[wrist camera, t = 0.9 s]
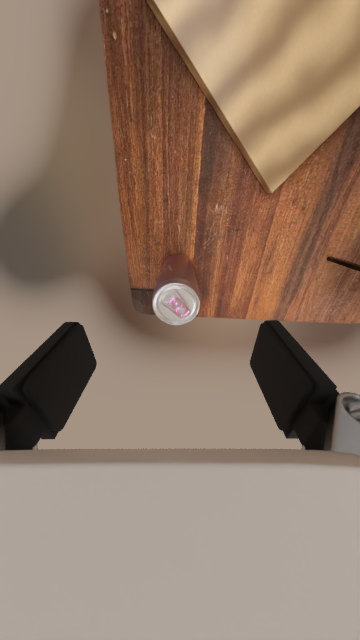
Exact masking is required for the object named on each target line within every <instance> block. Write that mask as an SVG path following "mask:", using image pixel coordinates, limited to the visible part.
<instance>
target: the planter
mask: <svg viewBox="0 0 360 640" xmlns="http://www.w3.org/2000/svg"><path fill="white" fill-rule="evenodd" d="M327 260H328V261H331V262H334V263H337V264H340V265H343V266H345V267H348V268H351V269H354V270H357V271H360V265H357V264H354V263H351V262H348V261H345V260H341V259H338V258H335V257H332V256H331V257H328V258H327Z"/></svg>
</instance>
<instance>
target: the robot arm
mask: <svg viewBox="0 0 360 640" xmlns="http://www.w3.org/2000/svg"><path fill="white" fill-rule="evenodd" d="M250 365H251V368H252V370H253V373H254V375H255V377H256V379H257V382H258V384H259V386H260V388H261V390H262V393H263V394H264V397H265V399H266V402H267V404H268V406H269V408H270V410H271V413H272V415H273V417H274V419H275V422H276V424H277V426H278V428H279V429H280V430H283V432H284V434H285V436H286V438H299V440H300V442H301V444H302V449H301V450H291V449H289V450H287V449H62V450H61V449H55V450H54V449H50V450H38V446H37V443H38V441H39V440H40V438H42V439H55V437H56V435H57V433H58V432H59V431H61V430H62V429H63V427H64V426H65V424H66V422H67V420H68V418H69V416H70V414H71V413H72V411H73V409H74V407H75V405H76V403H77V401H78V400H79V398H80V396H81V394H82V392H83V390H84V389H85V387H86V385H87V383H88V381H89V379H90V377H91V376H92V374H93V372H94V370H95V368H96V359H95V357H94V354H93V351H92V349H91V346H90V343H89V341H88V338H87V336H86V333H85V330H84V328H83V326H82V325H80V324H79V323H78V322H65V323H64V324H63V325H62V326H61V327H59V328H58V329H57V330H56V332H54V333H53V334H52V335H51V336H50V337H49V338H48V339H47V340H46V341H45V342H44V343H43V344H42V345H41V346H40V347H39V348H38V349H37V350H36V351H35V352H34V353H33V354H32V355H31V356H30V357H29V358H27V359H26V360H25V361H24V362H23V363H22V364H21V365H20V366H19V367H18V368H17V369H16V370H15V371H14V372H13V373H12V374H11V375H10V376H9V377H8V378H7V379H6V380H5V381H4V382H3V383H2V384H1V385H0V640H360V395H358V394H355V393H349V392H345V393H341V394H339V393H338V392H337V390H336V387H337V386H336V385H335V384H334V383H333V382H332V381H331V380H330V379H329V377H328V376H327V375H326V374H325V373H324V372H323V371H322V369H321V368H320V367H319V366H318V365H317V364H316V363H315V362H314V361H313V359H312V358H311V357H310V356H309V355H308V354H307V353H306V351H305V350H304V349H303V348H302V347H301V346H300V345H299V343H298V342H297V341H296V340H295V339H294V338H293V337H292V336H291V334H290V333H289V332H288V331H287V330H286V329H285V328H284V327H283V326H282V324H281V323H280V322H279V321H277V320H270V321H265V322H264V323H262V324H261V325H260V328H259V332H258V336H257V339H256V342H255V346H254V350H253V353H252V357H251V360H250Z"/></svg>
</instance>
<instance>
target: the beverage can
mask: <svg viewBox="0 0 360 640" xmlns="http://www.w3.org/2000/svg"><path fill="white" fill-rule="evenodd" d="M200 301H201V299H200V293H199V289H198V285H197V281H196V276H195V272H194V268H193V264H192V262H191V260H190V259H189V258H188V257H187V256H185V255H183V254H172V255H170V256H168V257H167V258H166V259H165V260H164V262H163V264H162V267H161V270H160V273H159V277H158V280H157V283H156V286H155V289H154V292H153V295H152V304H153V310H154V312H155V314H156V316H157V317H158V318H159V319H160V320H162V321H163V322H165V323H167V324H171V325H181V324H185V323H187V322H189V321H191V320H192V319H193V318H194V317H195V316H196V315H197V313H198V311H199V307H200Z"/></svg>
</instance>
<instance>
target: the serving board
mask: <svg viewBox="0 0 360 640" xmlns="http://www.w3.org/2000/svg"><path fill="white" fill-rule="evenodd" d="M146 2H147V3H148V5H149V7H150V8H151V10H152V11H153V13H154V15H155V16H156V18H157V19H158V21H159V23H160V24H161V26H162V27H163V29H164V31H165V32H166V34H167V35H168V37H169V39H170V40H171V42H172V43H173V45H174V47H175V48H176V50H177V51H178V53H179V54H180V56H181V58H182V59H183V61H184V62H185V64H186V66H187V67H188V69H189V70H190V72H191V74H192V75H193V77H194V78H195V80H196V82H197V83H198V85H199V86H200V88H201V90H202V91H203V93H204V94H205V96H206V98H207V99H208V101H209V102H210V104H211V106H212V107H213V109H214V110H215V112H216V113H217V115H218V117H219V118H220V120H221V121H222V123H223V125H224V126H225V128H226V129H227V131H228V133H229V134H230V136H231V137H232V139H233V141H234V142H235V144H236V145H237V147H238V149H239V150H240V152H241V153H242V155H243V157H244V158H245V160H246V161H247V163H248V165H249V166H250V168H251V169H252V171H253V172H254V174H255V176H256V177H257V179H258V180H259V182H260V184H261V185H262V187H263V188H264V190H265V192H266V193H267V194H270V193H273V192H274V191H275V190H276V189H277V188H278V187H279V186H280V185H281V184H282V183H283V182H284V181H285V180H286V179H287V178H288V177H289V176H290V175H291V174H292V173H293V172H294V171H295V170H296V169H297V168H298V167H299V166H300V165H301V164H302V163H303V162H304V161H305V160H306V159H307V158H308V157H309V156H310V155H311V154H312V153H313V152H314V151H315V150H316V149H317V148H318V147H319V146H320V145H321V144H322V143H323V142H324V141H325V140H326V139H327V138H328V137H329V136H330V135H331V134H332V133H333V132H334V131H335V130H336V129H337V128H338V127H339V126H340V125H341V124H342V123H343V122H344V121H345V120H346V119H347V118H348V117H349V116H350V115H351V114H352V113H353V112H354V111H355V110H356V109H357V108H358V107H359V106H360V0H146Z"/></svg>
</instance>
